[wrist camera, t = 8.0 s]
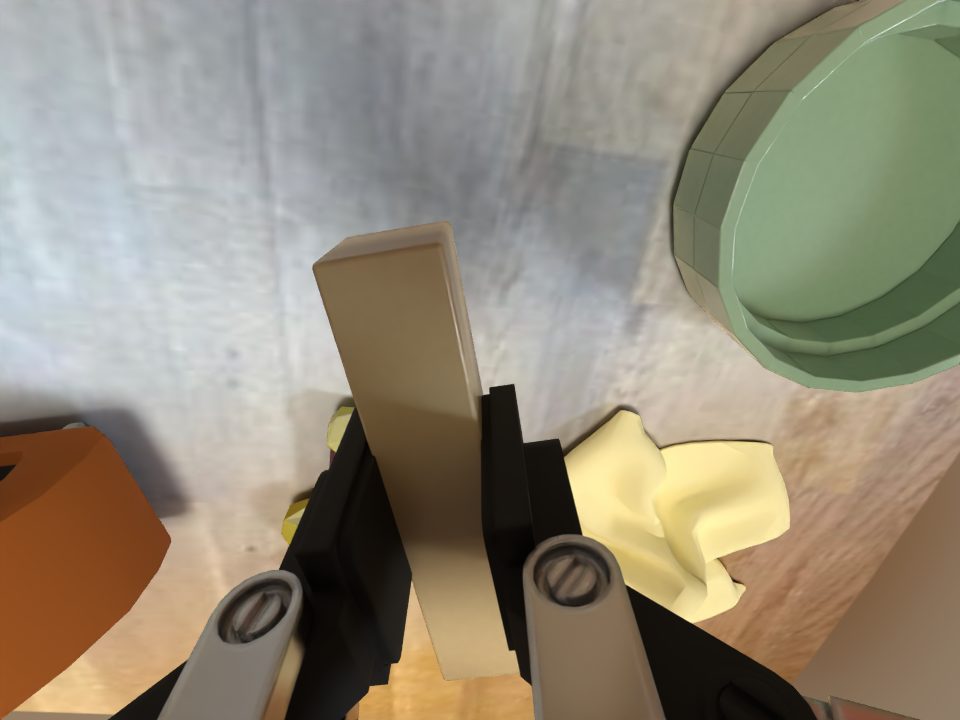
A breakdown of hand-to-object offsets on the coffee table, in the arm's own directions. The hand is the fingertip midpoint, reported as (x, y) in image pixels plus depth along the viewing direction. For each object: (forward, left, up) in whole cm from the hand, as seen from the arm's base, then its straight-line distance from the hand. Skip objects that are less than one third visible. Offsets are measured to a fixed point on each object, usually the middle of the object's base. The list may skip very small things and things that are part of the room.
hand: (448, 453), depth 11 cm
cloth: (+23, +8, -16) cm, 29 cm away
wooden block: (0, 0, 0) cm, 0 cm away
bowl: (+1, +18, -15) cm, 24 cm away
